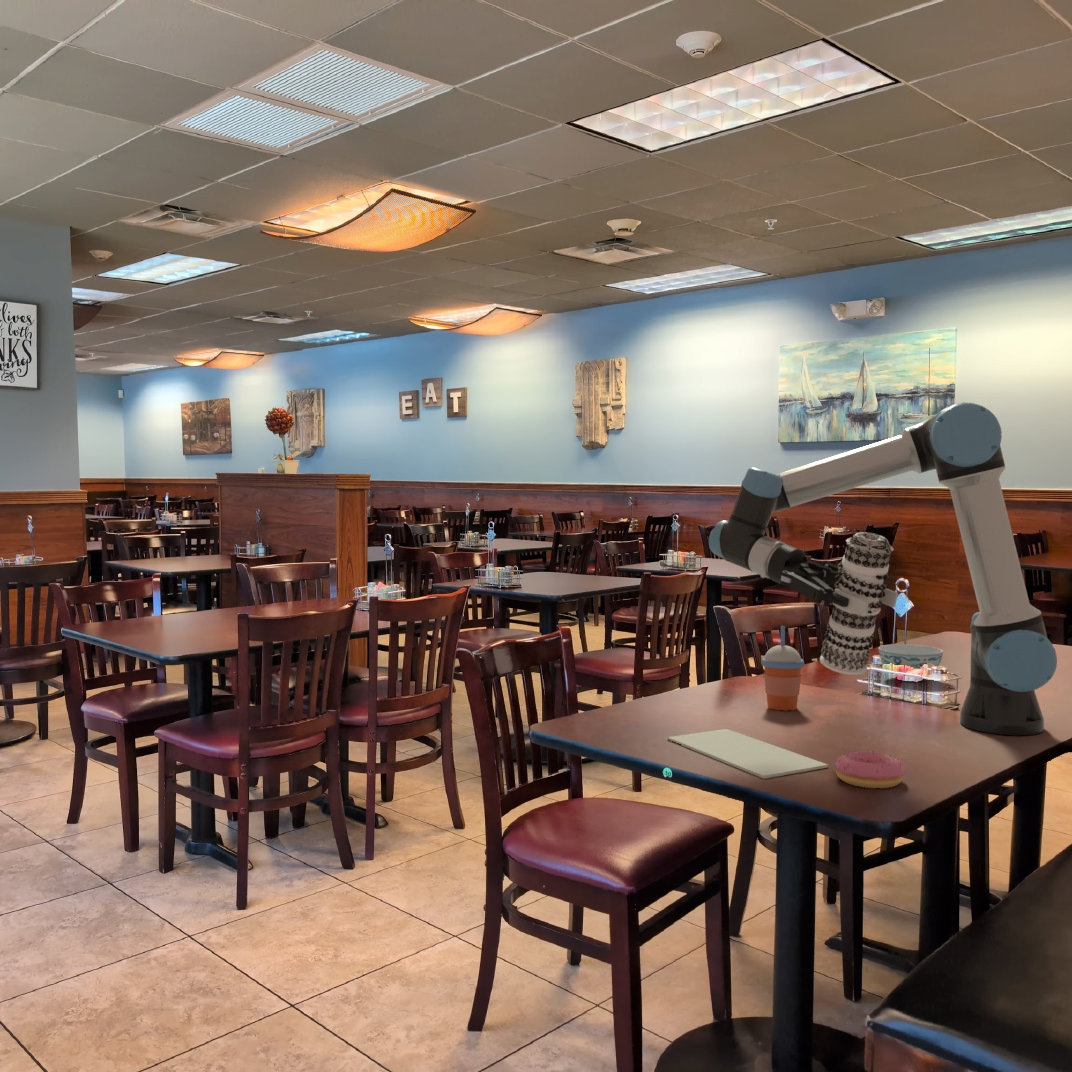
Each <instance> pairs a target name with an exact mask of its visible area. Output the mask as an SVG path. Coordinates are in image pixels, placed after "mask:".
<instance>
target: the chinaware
mask: <svg viewBox="0 0 1072 1072" xmlns="http://www.w3.org/2000/svg"><path fill="white" fill-rule="evenodd" d="M878 653H879V657H880V659H881V662H882V664H883V665H884V664H890V663H892V664H894V665H904V664H905V665H907V666H910V667H913V668H920V667H922V666H923V665H924V664H927V663H932V664H934V665H935V666H937V668H938V667H939V666H940V664H941V660H942V658H943V654H944V650H943V649H941V648H938V647H935V646H931V645H930V646H929V645H922V644H921V645H920V644H911V643H910V644H908V643H907V644H906V643H905V644H904V643H900V644H899V643H896V644H885V645H880V646H879V647H878Z"/></svg>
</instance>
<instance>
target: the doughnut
mask: <svg viewBox="0 0 1072 1072" xmlns="http://www.w3.org/2000/svg"><path fill="white" fill-rule="evenodd" d="M904 765H905V764H902V762H901V760H899V759H898V758H896V757H895V756H894V757H893V756H892V755H888V754H885V753H881V752H875V751H853V752H852V751H851V752H849V751H848V752H847V753H846V752H845V753H843V754H840V756H839V757H838V758H837V760H836V761H834V766H833V767H834V768H835V774H836V776H837V777H838V778H839V779H840V780H841V781H843V783H844V782H845V783H846V784H849V785H850V786H854V787H858V786H859V787H860V788H864V787H865V789H876V788H880V789H889V787H890V788H893V787H896V786H899V784H901V783H902V782H903V779H904V774H906V771H905V767H904Z"/></svg>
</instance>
